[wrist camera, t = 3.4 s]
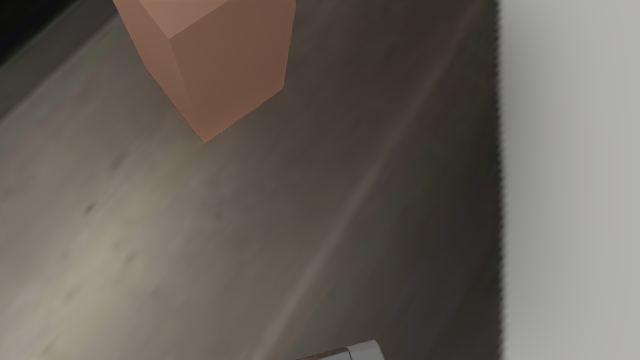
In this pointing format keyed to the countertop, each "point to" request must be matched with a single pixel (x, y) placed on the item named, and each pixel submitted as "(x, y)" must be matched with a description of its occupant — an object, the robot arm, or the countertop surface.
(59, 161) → the countertop surface
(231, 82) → the terracotta post
